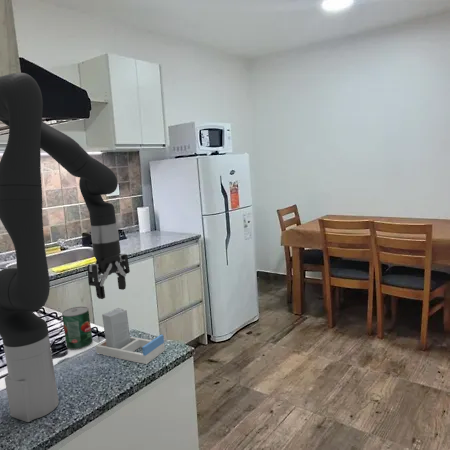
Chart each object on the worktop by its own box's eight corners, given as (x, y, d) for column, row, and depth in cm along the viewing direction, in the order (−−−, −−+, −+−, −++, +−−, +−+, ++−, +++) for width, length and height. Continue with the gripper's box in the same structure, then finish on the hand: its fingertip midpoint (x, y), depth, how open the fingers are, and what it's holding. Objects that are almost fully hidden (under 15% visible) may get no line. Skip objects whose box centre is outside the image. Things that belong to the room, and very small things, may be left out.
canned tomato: (95, 344, 124) (90, 311, 123) (68, 352, 120) (63, 317, 119) (89, 336, 131) (85, 304, 129) (64, 343, 127) (59, 310, 126)
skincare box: (123, 344, 123) (118, 307, 121) (131, 347, 120) (127, 309, 119) (106, 352, 118) (101, 314, 117) (114, 355, 116) (110, 316, 114)
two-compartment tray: (146, 364, 109) (144, 347, 108) (96, 353, 118) (94, 338, 117) (164, 350, 117) (163, 334, 116) (117, 341, 125) (115, 326, 125)
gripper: (96, 245, 106) (104, 303, 109) (132, 235, 119) (138, 287, 121) (76, 244, 110) (84, 300, 112) (113, 234, 122) (119, 285, 125)
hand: (112, 293), depth 117 cm, fingers open, 8 cm apart
